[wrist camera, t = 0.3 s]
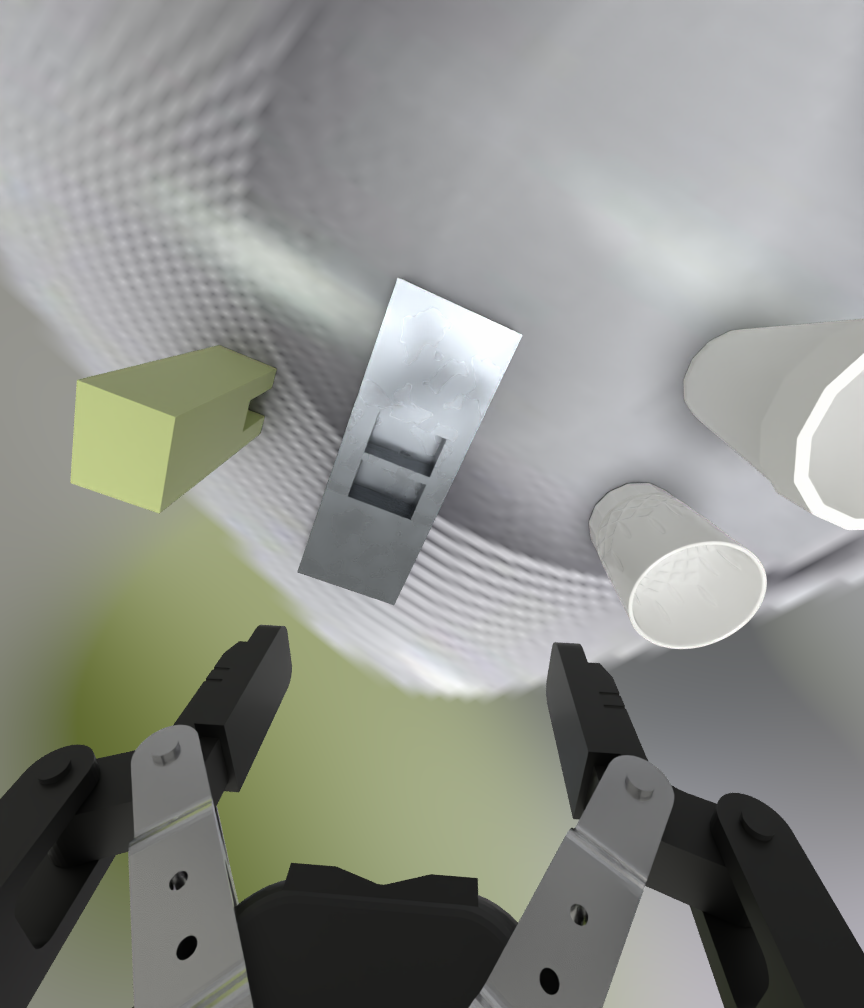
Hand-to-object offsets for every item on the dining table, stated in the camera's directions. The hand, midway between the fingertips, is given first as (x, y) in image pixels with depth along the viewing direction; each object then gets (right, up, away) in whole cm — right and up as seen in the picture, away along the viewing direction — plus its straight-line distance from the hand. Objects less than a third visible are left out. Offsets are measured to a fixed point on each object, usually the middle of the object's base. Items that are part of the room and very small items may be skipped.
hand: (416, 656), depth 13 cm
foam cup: (+21, +13, +17) cm, 30 cm away
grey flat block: (-2, +8, +20) cm, 22 cm away
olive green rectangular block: (-13, +13, +18) cm, 25 cm away
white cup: (+16, +3, +22) cm, 28 cm away
